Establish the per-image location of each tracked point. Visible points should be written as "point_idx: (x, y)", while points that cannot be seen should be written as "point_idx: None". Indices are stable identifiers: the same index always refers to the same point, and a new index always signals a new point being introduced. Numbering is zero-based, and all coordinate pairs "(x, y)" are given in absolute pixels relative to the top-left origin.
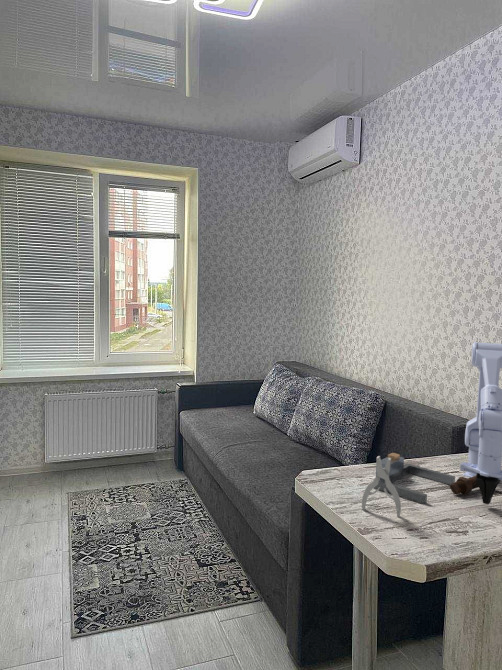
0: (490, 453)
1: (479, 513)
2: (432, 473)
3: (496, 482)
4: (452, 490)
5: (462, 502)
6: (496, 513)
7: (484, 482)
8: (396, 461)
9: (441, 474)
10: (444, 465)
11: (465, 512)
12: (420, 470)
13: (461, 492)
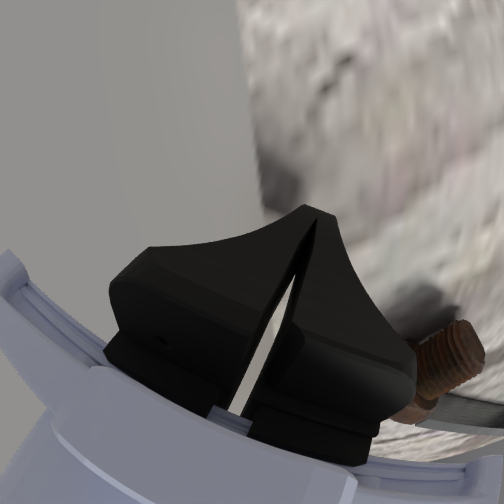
0: None
1: (356, 104)
2: (480, 421)
3: (112, 292)
4: (475, 336)
5: (448, 247)
6: (256, 157)
7: (289, 323)
8: None
9: (459, 424)
10: (398, 453)
11: (443, 86)
12: (502, 423)
13: (430, 339)
